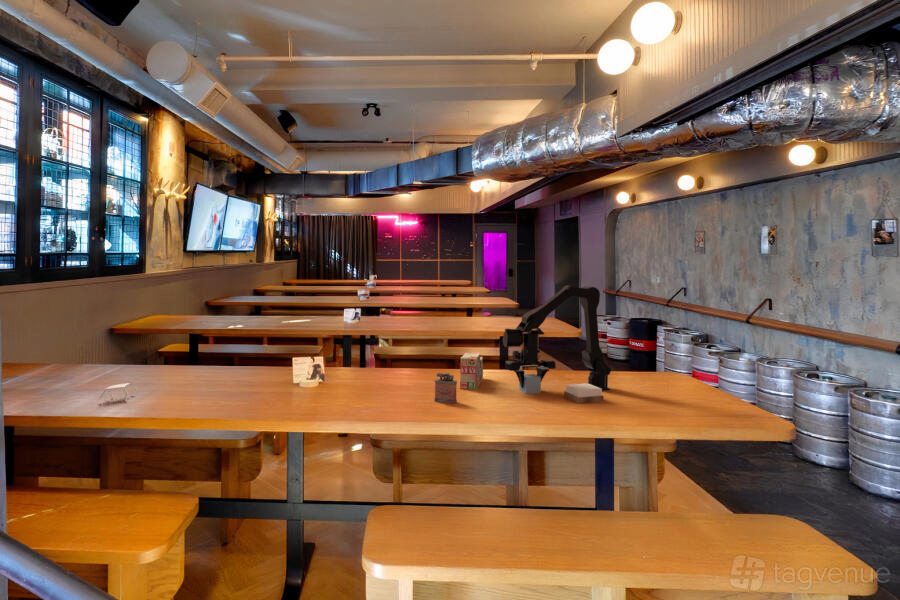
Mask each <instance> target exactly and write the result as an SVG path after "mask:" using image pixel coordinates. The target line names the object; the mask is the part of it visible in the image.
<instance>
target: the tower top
mask: <svg viewBox="0 0 900 600" xmlns="http://www.w3.org/2000/svg"><path fill="white" fill-rule="evenodd" d="M565 386H566V387H565V391H566V392H568V393H570V394H573V395H575V396H577V397H592V396H603V390H602V389H601V388H599V387H596V386H594V385H591V384H588V383H576V384H575V383H574V384H566V385H565Z"/></svg>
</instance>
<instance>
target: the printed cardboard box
mask: <svg viewBox="0 0 900 600" xmlns="http://www.w3.org/2000/svg"><path fill="white" fill-rule="evenodd" d="M459 369H460V371H459V372H460V373H459V375H460V380H459V389H460V390H471V391H472V390H477V389H478V387H479V386H480V383H481V382H482V380H483V379H484V358H483V356H481V353H480V352H477V353H476V352H465V353H464V354H463V355H462V356H461V357H460V368H459Z"/></svg>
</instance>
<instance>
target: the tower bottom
mask: <svg viewBox="0 0 900 600" xmlns="http://www.w3.org/2000/svg"><path fill="white" fill-rule="evenodd" d="M563 397H564V398H566V399H568V400H570V401H572V402H575V403H577V404H587V403H601V402H604V398H605V397H604V395H602V396H592V397H577V396H575V395H573V394H570V393H568V392H566V390H564V391H563Z"/></svg>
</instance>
